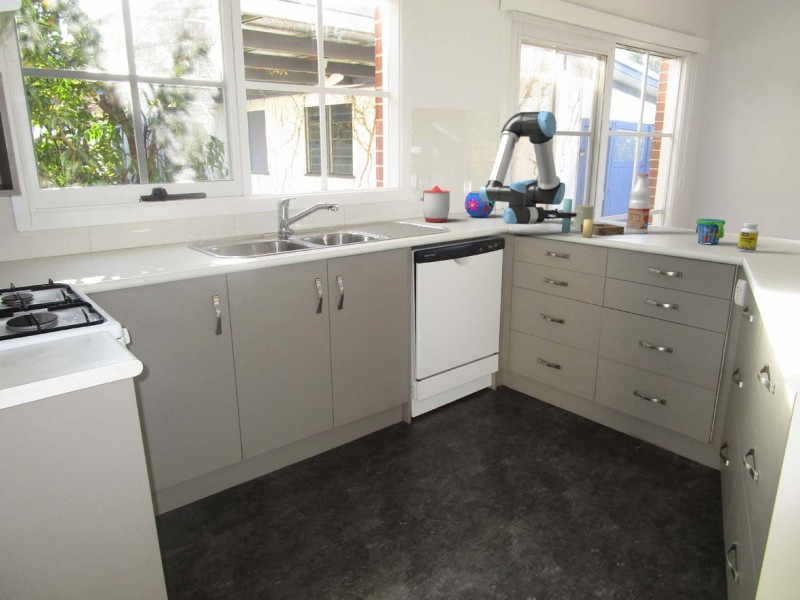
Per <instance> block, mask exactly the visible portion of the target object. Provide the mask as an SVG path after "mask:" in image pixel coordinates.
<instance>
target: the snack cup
mask: <svg viewBox="0 0 800 600" xmlns="http://www.w3.org/2000/svg"><path fill="white" fill-rule="evenodd" d="M696 224H697V226H696V228H695V233H696V234H697V242H702V243H711V244H714V245H716V244H715V243H718V244H719V242H720V239H723V238H724V236H725V231H724V226H725V224H726V220H724V219H717V218H698V219H697V220H696Z"/></svg>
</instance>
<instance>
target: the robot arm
mask: <svg viewBox="0 0 800 600" xmlns="http://www.w3.org/2000/svg"><path fill="white" fill-rule="evenodd" d="M556 132H557V120H556V116H555V114H554V113H553V112H551V111H549V110H547V111H545V110H540V111H521V112H516V113H515V114H514V115H512V116H511V117H509V119H508V120H507V121H506V122H505V124H504V125H503V127H502V129H501V131H500V135H499V139H500V142H499V145H498V148H497V152H496V155H495V158H494V161H493V164H492V167H491V171H490V174H489V178H488V180H487V184H483V185H482V186H481V187H480V188H479V191H480V193H479V194H480V198H481V200H483V201H495V202H498V203H499V202H502V203H508V207H506V208H505V209H503V213H502V219H503V222H504V223H505V224H506V225H520V224H521V225H523V224H524V223H526V224H527V225H531V224H530V223H534V224H541V223H543V222H545V220H555V219H562V218H569V219H571V220H572V219H573V218H577V217H581V214H582V212H575V211H572V212H569V213H568V212H563V209H558V208H554V209H547V210H546V209H545V208H544V207H542V206H537V204H538V205H551V206H552V205H555V206H557V205H560V204H561V203H563V201H564V199H565V198H564V197H565V192H566V184H565V182H562V181H561V179H560V177H559V176H558V175H557V170H556V164H555V158H554V153H553V146H552V140H553V138H554V136H555V135H556ZM522 137H523V138H526V137H527V138H528V139H529V142H530V143H531V144H532V145H533V149H534V154H535V155H534V156H535V161H536V167H537V171H538V178H539V180H538V179H527V180H525V179H524V180H519V181H511V182H510V183H509V185H504V184H505V183H504V182H505V179H506V176H507V174H508V171H509V166H510V164H511V160H512V157H513V154H514V152H515V148H516V144H517V143H518V142H519V141H520V138H522ZM526 224H525V225H526Z"/></svg>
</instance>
